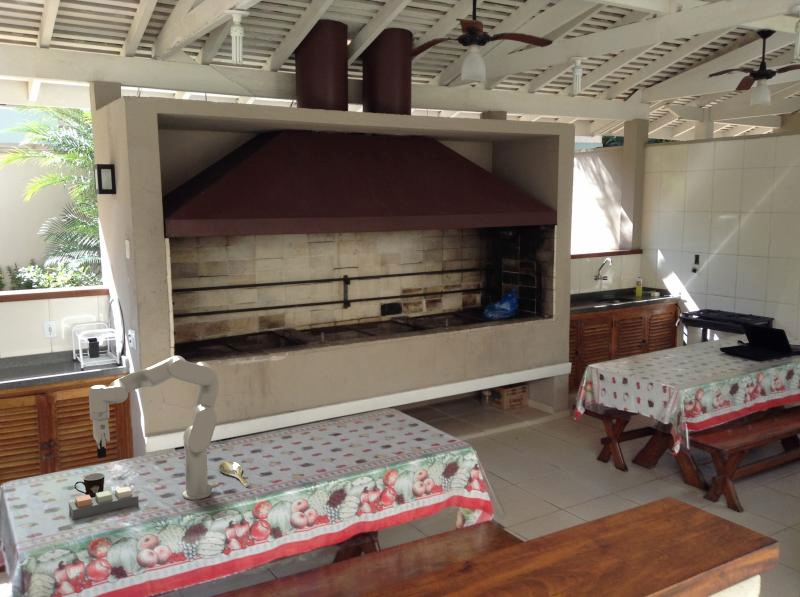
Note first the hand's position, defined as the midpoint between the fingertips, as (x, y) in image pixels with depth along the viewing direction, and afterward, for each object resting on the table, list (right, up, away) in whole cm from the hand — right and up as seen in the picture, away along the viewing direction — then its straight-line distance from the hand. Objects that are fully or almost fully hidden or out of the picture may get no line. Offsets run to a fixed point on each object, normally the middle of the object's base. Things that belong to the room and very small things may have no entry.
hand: (101, 457), depth 301 cm
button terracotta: (-7, -21, -2) cm, 22 cm away
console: (0, -23, +3) cm, 23 cm away
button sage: (0, -20, +2) cm, 20 cm away
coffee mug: (-10, -22, +14) cm, 28 cm away
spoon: (+48, -19, +41) cm, 66 cm away
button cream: (+7, -20, +7) cm, 22 cm away
